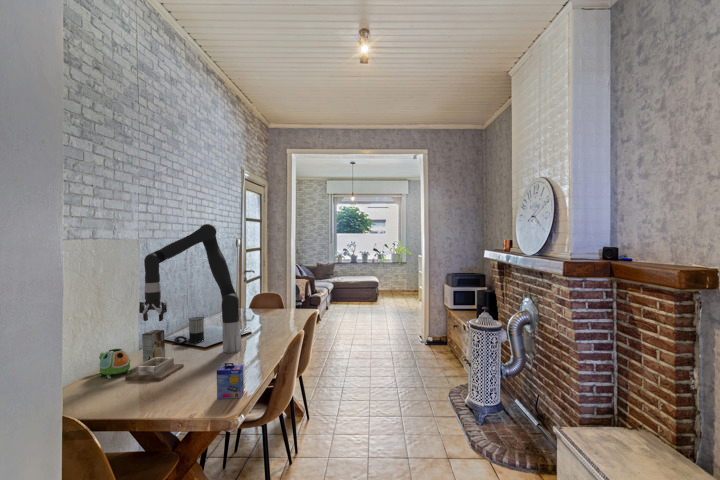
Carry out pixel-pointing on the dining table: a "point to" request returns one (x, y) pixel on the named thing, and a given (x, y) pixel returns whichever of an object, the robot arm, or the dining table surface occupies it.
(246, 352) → the dining table surface
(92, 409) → the dining table surface
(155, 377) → the frame
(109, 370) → the turtle holder
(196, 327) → the milk frother
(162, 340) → the coffee box
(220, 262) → the robot arm
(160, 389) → the dining table surface
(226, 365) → the ink cartridge box
